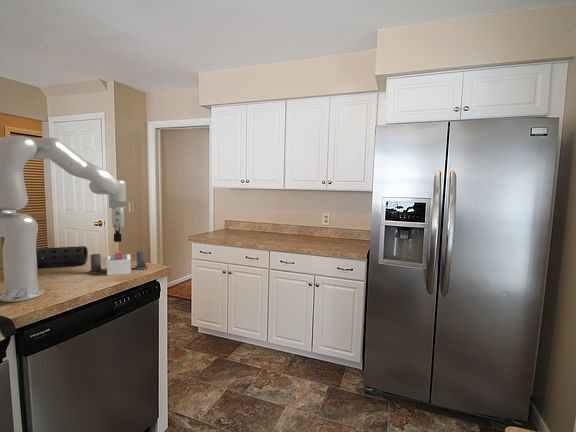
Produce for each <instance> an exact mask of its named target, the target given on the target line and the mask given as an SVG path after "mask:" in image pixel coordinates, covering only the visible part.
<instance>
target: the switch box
mask: <svg viewBox="0 0 576 432" xmlns="http://www.w3.org/2000/svg"><path fill="white" fill-rule="evenodd" d="M131 260H132V258H131V254H130V253H128V254H127V253H122V259H115V254H112V255H107V259H106V274H107V276H114V275H116V276H117V275H125V274H126V275H127V274H131V272H132V268H131V267H132V265H131V264H132V263H131Z"/></svg>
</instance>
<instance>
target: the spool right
mask: <svg viewBox="0 0 576 432" xmlns="http://www.w3.org/2000/svg"><path fill="white" fill-rule="evenodd" d="M146 261H147V260H146V250H137V251H136V266H135V267H134V270H135V271H144V269H145V270H148V269H149V266H148V265H146ZM147 268H148V269H147Z"/></svg>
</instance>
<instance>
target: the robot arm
mask: <svg viewBox="0 0 576 432" xmlns="http://www.w3.org/2000/svg"><path fill="white" fill-rule="evenodd" d="M29 160H50V162H53V163H54V164H55V165H56V166H58V167H59V168H61V169H62V170H64V171H65V172H66V173H68V174H69V175H71V176H74V177H77V178H79V179H83V180H86V181H90V182H89V184H88V188H89V190H90V191H91V192H92V193H93V194H96V195H107V196H108V208H109V209H111V224H112V228H113V230H114V231H113V232H114V233H113V242H114V243H121V242H122V233H121V232H122V229H123V228H125V210H124V209H126V208H127V182H126V181H125V180H124V179H123V180H122V179H117V178H116V177H115V176H114V175H112V174H110V173H109V172H108V171H106V170H105V169H104V168H102V167H100V166H98V165H96V164H94V163H92V162H89V161H88V160H86V159H84V158H83V157H82V156H80V155H79V154H78V153H77V152H76V151H74V150H73V149H72V148H71V147H69V146H68V145H67V144H65V143H64V142H63V141H62V140H60V139H58V138H56V137H52V136H50V137H48V136H47V137H35V138H32V137H31V138H30V137H27V136H23V135H17V136H4V137H0V237H1V238H4V241H3V246H2V262H3V263H2V264H3V265H2V266H3V280H4V293H3V294H1V295H0V301H1V302H3V303H4V302H5V303H16V302H23V301H29V300H32V299H35V298H37V297H38V298H39V297H41V296H42V295H44V289H43V288H39V278H38V277H39V275H38V268H37V254H36V248H37V239H38V238H37V237H38V232H39V226H38V222H37V221H36V219H34V217H32V216H31V215H28V214H25V213H17V211H18V210H22V209H23V208H26V206H27V205H28V203H29V197H28V192H27V187H26V183H25V179H24V178H25V177H24V168H25V165H26V163H27V162H28V161H29Z"/></svg>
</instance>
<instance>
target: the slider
mask: <svg viewBox="0 0 576 432" xmlns="http://www.w3.org/2000/svg"><path fill="white" fill-rule="evenodd" d="M122 254H123V251H115V252H114V255H115V259H122Z"/></svg>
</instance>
